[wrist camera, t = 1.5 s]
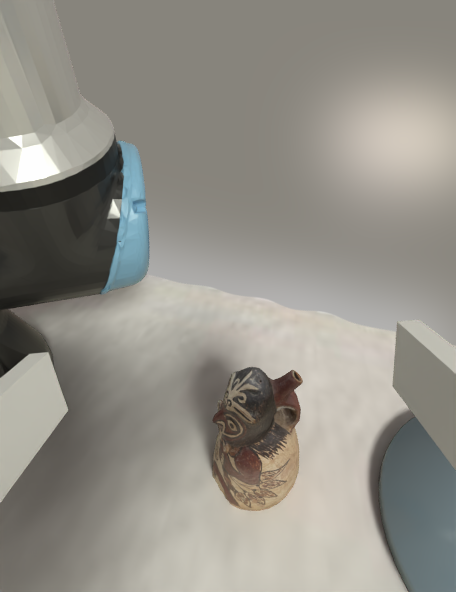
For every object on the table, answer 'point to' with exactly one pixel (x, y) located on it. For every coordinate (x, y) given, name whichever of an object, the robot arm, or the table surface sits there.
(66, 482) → the table surface
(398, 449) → the plate
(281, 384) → the figurine
